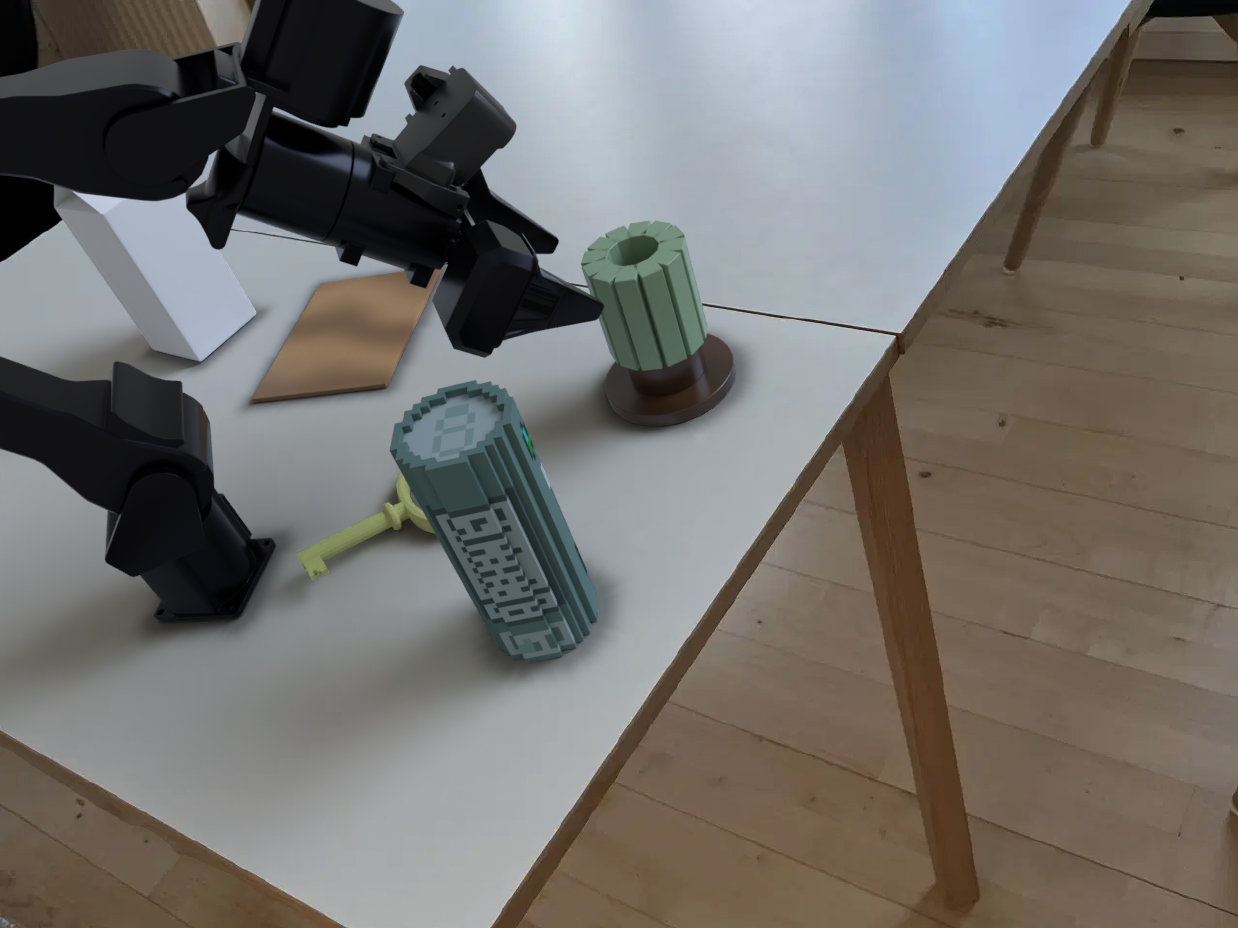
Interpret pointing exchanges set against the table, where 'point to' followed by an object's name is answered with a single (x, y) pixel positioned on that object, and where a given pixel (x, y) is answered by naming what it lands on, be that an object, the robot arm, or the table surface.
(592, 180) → the table surface
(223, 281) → the milk carton
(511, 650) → the can
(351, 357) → the cork mat
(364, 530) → the key
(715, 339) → the ring holder
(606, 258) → the ring
